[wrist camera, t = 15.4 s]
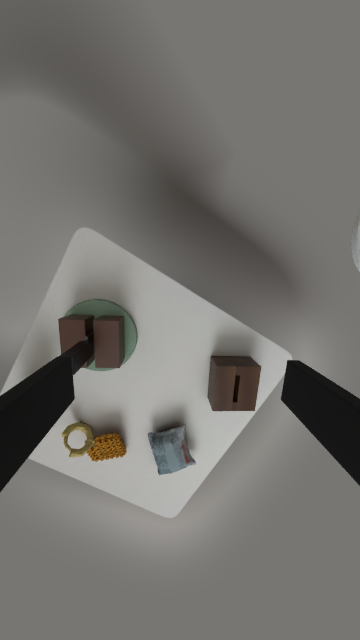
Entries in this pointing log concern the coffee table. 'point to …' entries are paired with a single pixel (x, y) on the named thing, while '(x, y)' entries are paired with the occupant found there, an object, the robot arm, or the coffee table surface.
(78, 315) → the green disc stand
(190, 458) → the packaged food
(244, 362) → the knife block
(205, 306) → the coffee table surface
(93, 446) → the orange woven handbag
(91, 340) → the knife
